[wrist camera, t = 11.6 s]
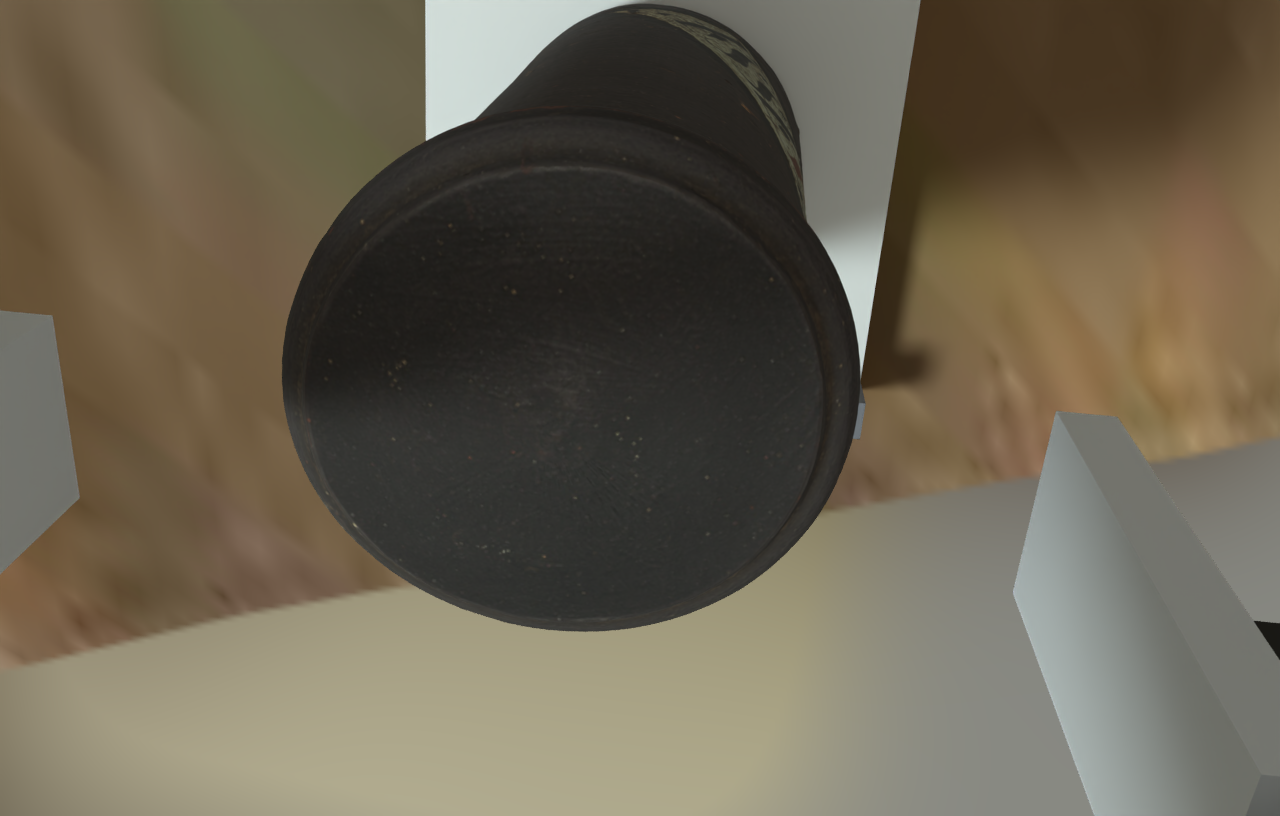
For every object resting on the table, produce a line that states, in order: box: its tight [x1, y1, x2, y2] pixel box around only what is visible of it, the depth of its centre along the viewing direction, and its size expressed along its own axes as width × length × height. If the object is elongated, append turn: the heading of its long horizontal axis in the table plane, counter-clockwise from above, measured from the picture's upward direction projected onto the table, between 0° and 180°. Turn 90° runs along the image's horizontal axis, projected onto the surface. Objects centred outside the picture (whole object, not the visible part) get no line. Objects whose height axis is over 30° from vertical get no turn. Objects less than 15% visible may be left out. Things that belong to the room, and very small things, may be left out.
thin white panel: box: [426, 0, 921, 439], centre depth 35 cm, size 20×14×4 cm
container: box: [282, 4, 860, 632], centre depth 26 cm, size 9×9×20 cm
